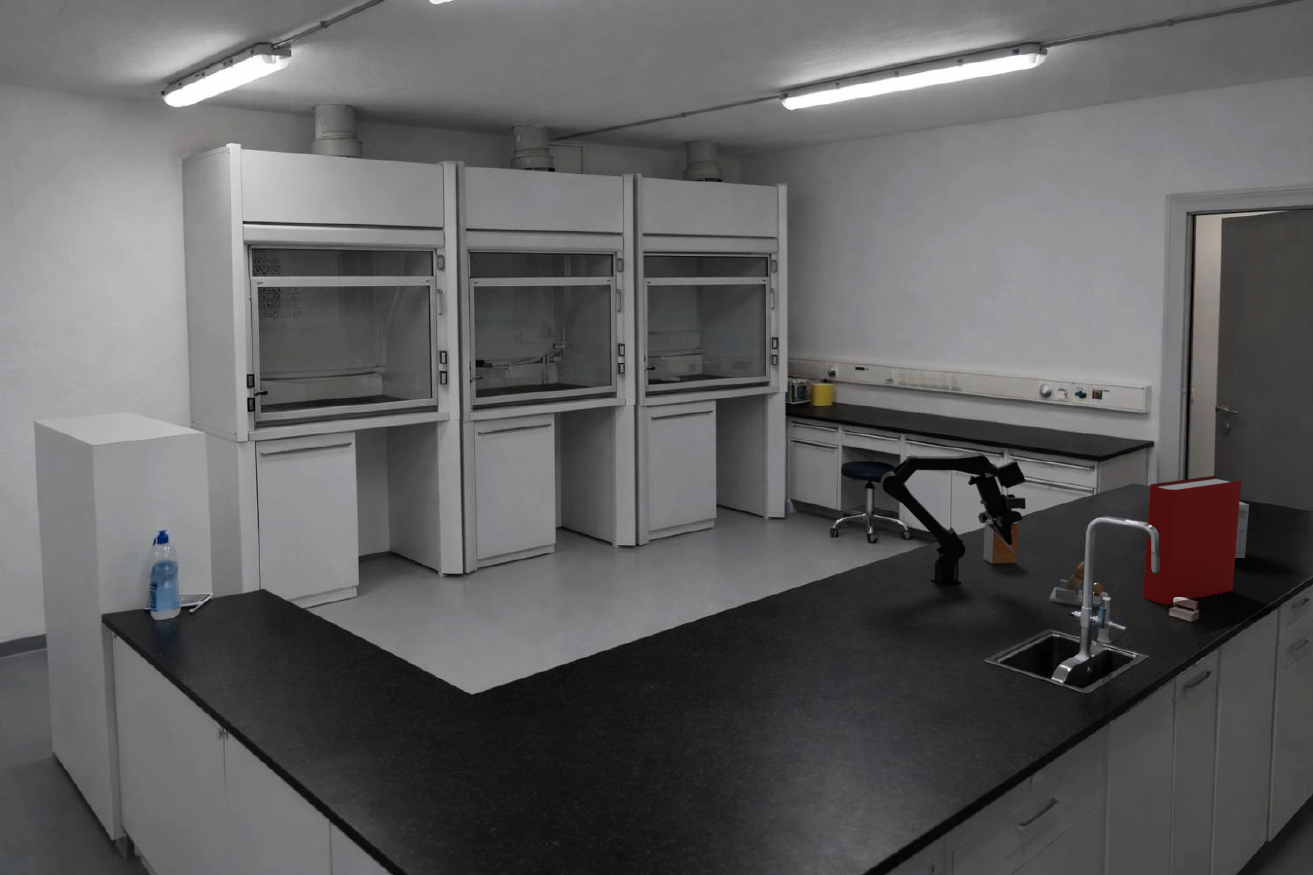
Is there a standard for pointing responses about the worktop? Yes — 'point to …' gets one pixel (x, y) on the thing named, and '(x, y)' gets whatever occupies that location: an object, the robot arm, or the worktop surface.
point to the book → (1192, 538)
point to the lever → (1076, 578)
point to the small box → (999, 546)
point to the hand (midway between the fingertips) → (1010, 544)
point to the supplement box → (1242, 530)
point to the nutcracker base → (1076, 594)
